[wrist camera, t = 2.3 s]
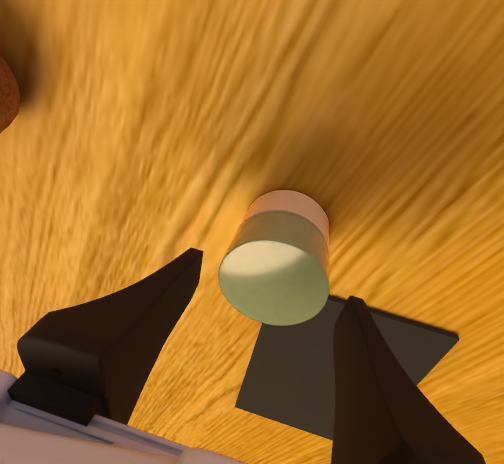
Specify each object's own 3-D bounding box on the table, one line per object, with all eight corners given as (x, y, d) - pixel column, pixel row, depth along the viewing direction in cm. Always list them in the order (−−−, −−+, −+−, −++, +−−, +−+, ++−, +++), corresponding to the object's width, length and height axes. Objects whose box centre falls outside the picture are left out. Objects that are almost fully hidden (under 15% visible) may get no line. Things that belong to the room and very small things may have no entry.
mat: (457, 334, 21) (460, 339, 20) (357, 444, 31) (357, 449, 30) (276, 279, 22) (275, 283, 21) (235, 403, 32) (234, 407, 31)
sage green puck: (344, 226, 15) (347, 260, 13) (311, 299, 18) (309, 338, 16) (242, 197, 16) (226, 224, 13) (227, 273, 19) (211, 307, 16)
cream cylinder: (342, 201, 18) (344, 226, 15) (314, 270, 21) (311, 299, 18) (254, 177, 18) (242, 197, 16) (238, 247, 21) (227, 273, 19)
